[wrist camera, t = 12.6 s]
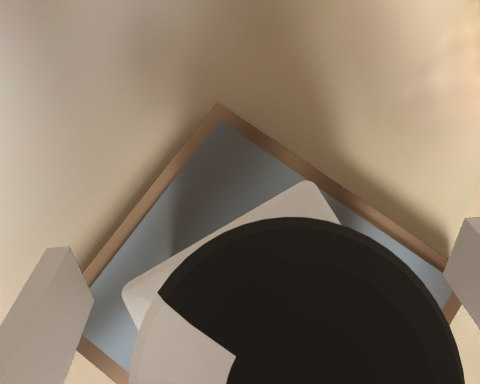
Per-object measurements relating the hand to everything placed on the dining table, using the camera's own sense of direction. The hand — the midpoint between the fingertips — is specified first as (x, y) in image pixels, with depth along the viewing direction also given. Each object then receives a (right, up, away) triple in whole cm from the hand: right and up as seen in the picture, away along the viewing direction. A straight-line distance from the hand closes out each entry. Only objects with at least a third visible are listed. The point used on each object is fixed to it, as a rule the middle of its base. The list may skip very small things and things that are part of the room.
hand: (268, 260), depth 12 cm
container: (0, -4, +7) cm, 8 cm away
